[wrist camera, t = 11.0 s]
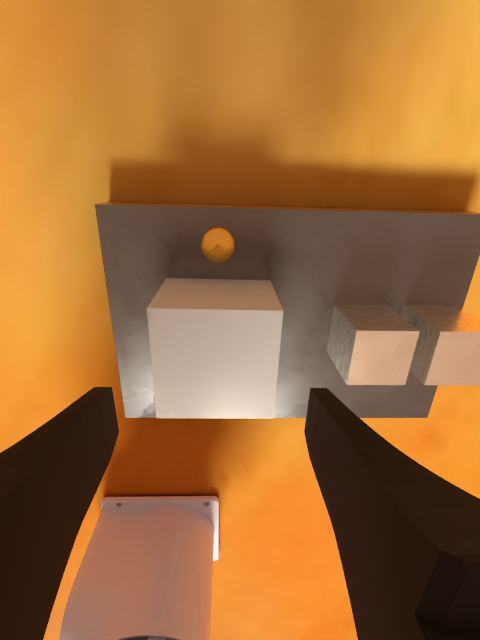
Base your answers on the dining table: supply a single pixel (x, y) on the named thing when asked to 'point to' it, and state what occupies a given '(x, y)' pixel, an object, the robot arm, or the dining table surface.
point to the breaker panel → (310, 295)
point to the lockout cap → (215, 348)
